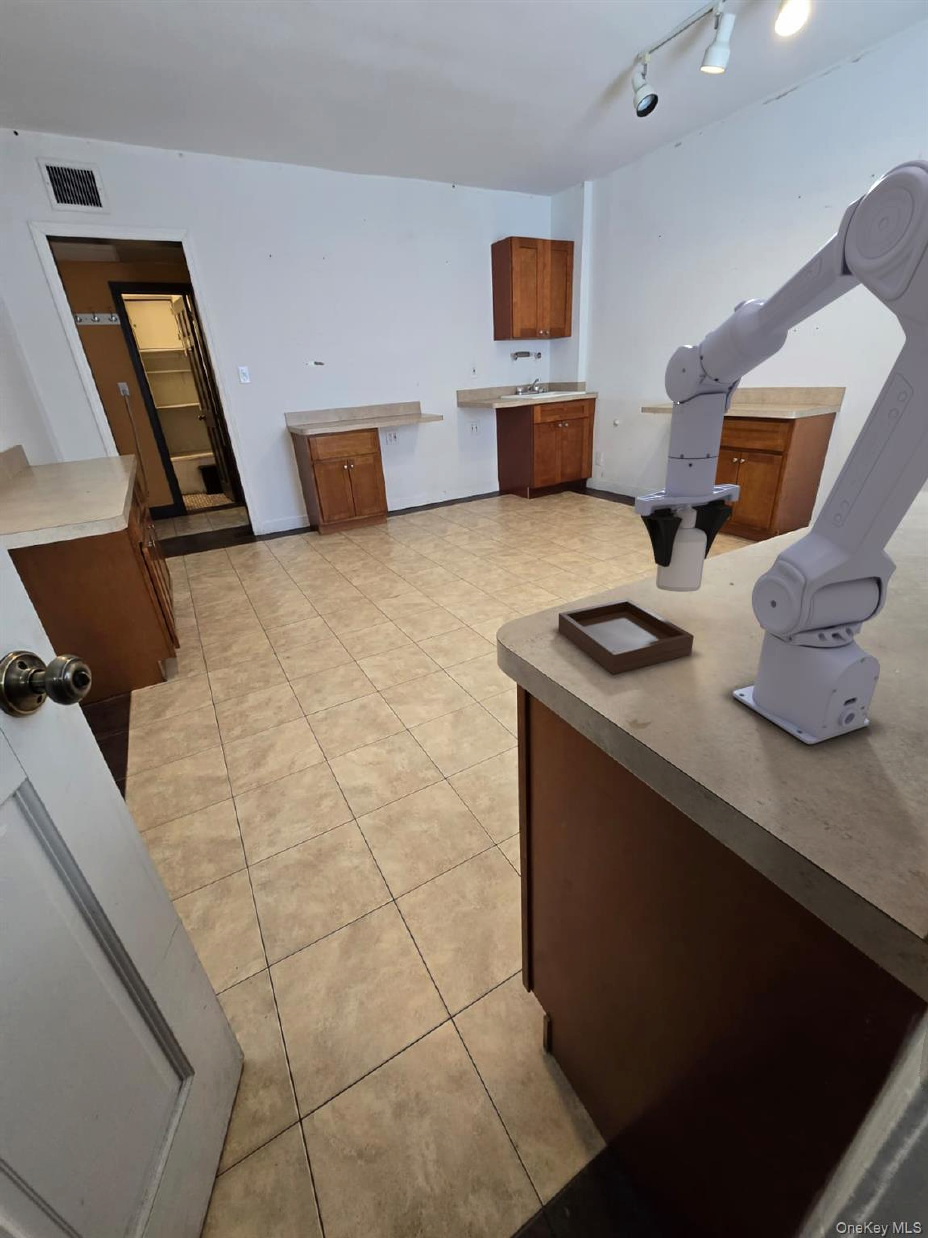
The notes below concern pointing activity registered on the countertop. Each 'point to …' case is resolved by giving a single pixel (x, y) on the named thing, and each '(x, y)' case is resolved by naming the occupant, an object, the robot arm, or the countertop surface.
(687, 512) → the eye dropper bottle
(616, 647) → the tray
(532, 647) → the countertop surface
